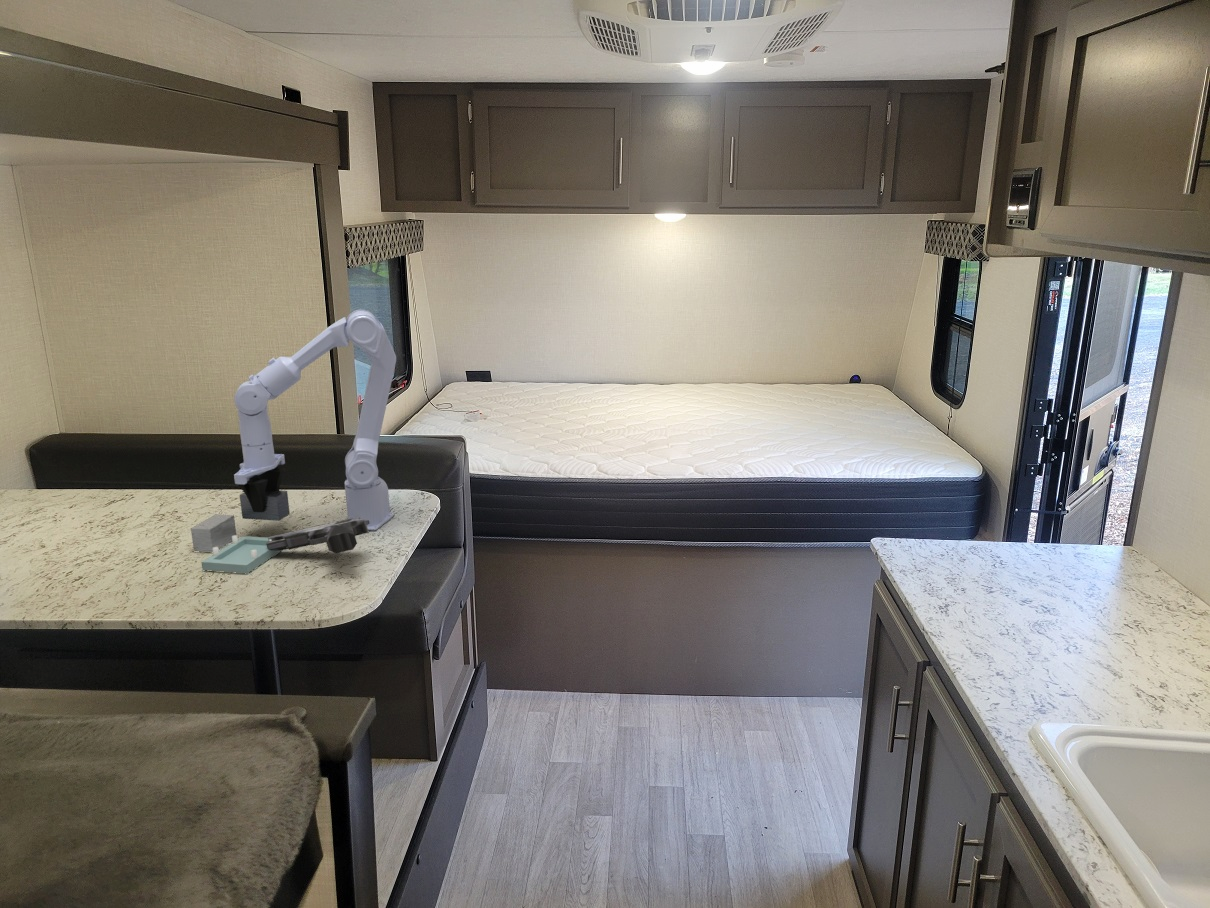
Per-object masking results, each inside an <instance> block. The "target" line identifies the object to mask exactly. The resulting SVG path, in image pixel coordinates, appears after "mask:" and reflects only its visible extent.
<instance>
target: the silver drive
mask: <svg viewBox="0 0 1210 908" xmlns="http://www.w3.org/2000/svg"><path fill="white" fill-rule="evenodd" d="M235 521H236V519H235V515H233V514H219V513H218V514H213V515H212V516H209V517H208V518H207V519H204V520H203V521H201V522H200V523H198V524H196V525H194V526H193V527H191V528H190V533H191V539H192V547H193V552H194V551H199V552H198V553H200V552H213V549H212V548H213V547H218V549H219V550H221V549H222V548H224V547H226V546H227V545H229V544H231V543H233V541H232V536H233V535H237V529H236V522H235ZM228 543H229V544H228ZM226 544H227V545H226ZM223 546H224V547H223ZM221 547H222V548H221ZM220 548H221V549H220Z"/></svg>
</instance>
